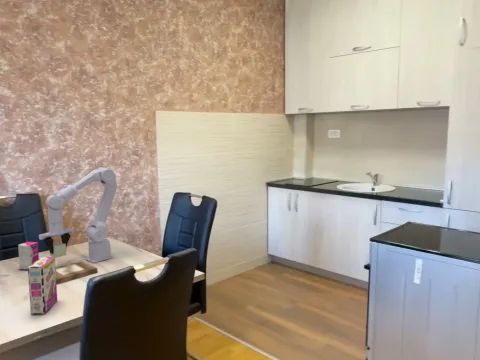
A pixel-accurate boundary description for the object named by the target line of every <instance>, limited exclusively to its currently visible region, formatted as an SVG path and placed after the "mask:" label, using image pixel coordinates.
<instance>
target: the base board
mask: <svg viewBox="0 0 480 360" xmlns="http://www.w3.org/2000/svg"><path fill="white" fill-rule="evenodd" d="M55 268H56V286H57V285H60V284H63V283H68V282H70V281H73V280H76V279H80V278H84V277H87V276H91V275H94V274H98V271H99V270H98V267H96V266H95V265H92V264H89V263H87V262H85V261H78V262H74V263H70V264H66V265H63V266H60V267H59V266H58V267H55Z"/></svg>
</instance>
